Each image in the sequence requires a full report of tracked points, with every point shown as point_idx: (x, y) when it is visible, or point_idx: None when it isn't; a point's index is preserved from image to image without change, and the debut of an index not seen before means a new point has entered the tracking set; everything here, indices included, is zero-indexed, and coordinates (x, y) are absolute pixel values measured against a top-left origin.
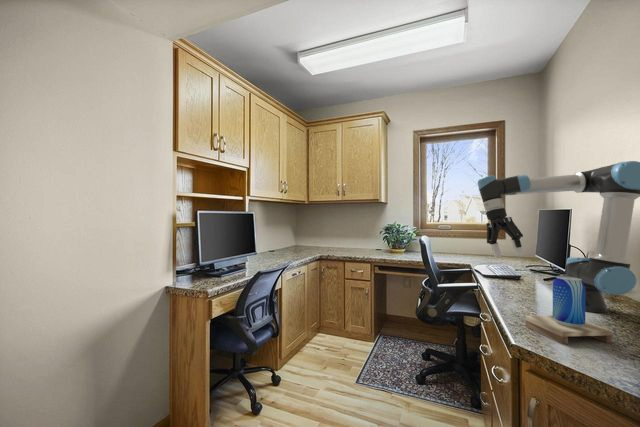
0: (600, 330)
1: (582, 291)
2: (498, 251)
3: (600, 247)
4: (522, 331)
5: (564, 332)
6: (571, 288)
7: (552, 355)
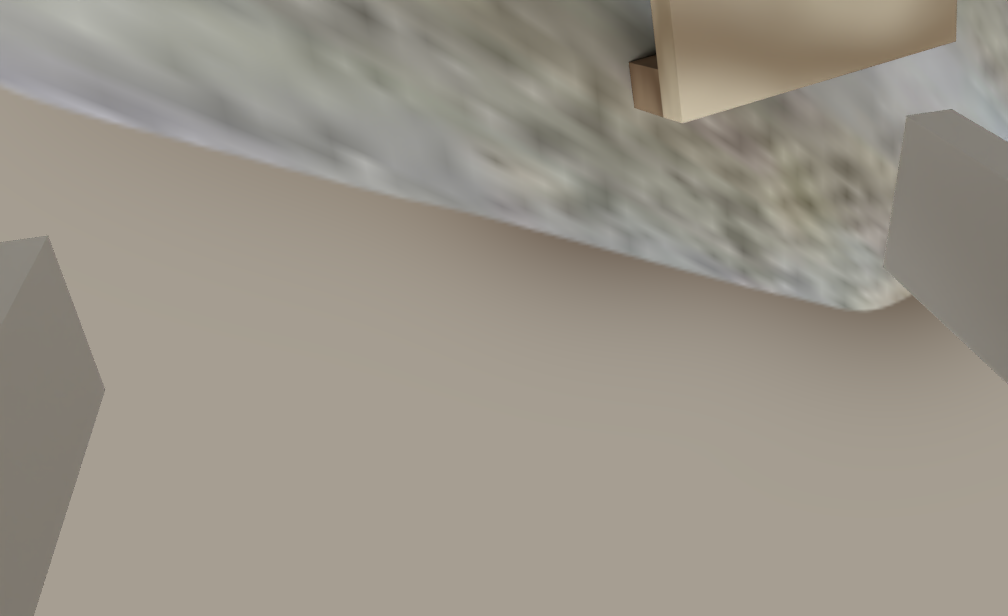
0: None
1: None
2: (17, 401)
3: None
4: (715, 183)
5: (953, 23)
6: None
7: None
